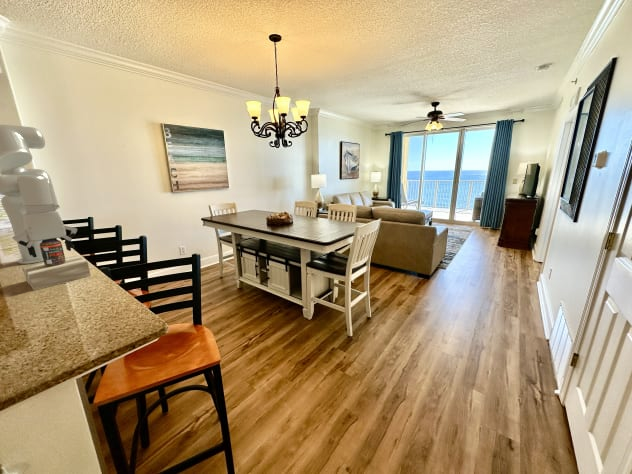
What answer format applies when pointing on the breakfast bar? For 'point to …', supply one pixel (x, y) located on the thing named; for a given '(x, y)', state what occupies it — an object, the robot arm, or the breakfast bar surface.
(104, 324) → the breakfast bar surface
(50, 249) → the supplement bottle
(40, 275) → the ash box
